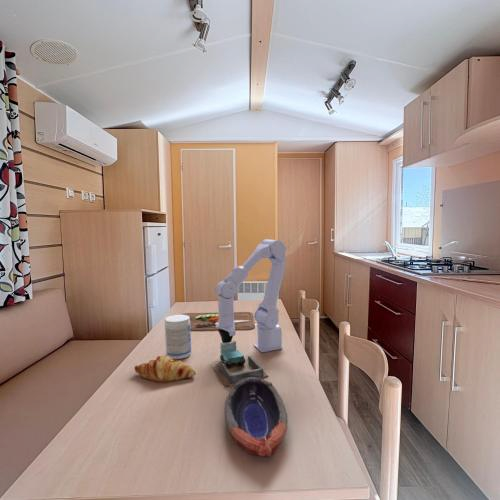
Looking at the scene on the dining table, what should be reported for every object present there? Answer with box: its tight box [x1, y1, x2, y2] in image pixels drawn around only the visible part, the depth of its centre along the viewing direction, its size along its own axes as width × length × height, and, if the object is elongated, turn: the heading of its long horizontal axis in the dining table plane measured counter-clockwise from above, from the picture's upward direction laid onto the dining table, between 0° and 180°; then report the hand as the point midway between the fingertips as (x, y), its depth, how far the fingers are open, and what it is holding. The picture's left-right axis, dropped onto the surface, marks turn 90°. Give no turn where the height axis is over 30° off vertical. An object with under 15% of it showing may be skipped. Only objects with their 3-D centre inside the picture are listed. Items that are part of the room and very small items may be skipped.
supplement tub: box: [164, 314, 192, 360], centre depth 118 cm, size 10×10×15 cm
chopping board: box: [180, 311, 258, 332], centre depth 158 cm, size 45×27×3 cm, turn 91°
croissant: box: [134, 355, 197, 383], centre depth 102 cm, size 21×10×8 cm, turn 84°
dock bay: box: [212, 355, 269, 387], centre depth 104 cm, size 15×14×3 cm
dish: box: [224, 377, 289, 457], centre depth 78 cm, size 16×31×5 cm, turn 3°
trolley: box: [219, 340, 246, 368], centre depth 110 cm, size 7×9×6 cm
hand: (226, 348), depth 116 cm, fingers closed
